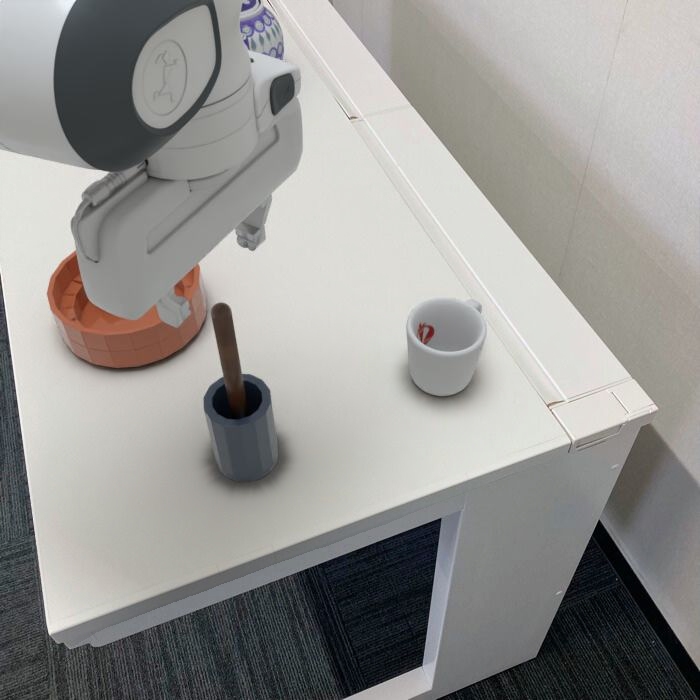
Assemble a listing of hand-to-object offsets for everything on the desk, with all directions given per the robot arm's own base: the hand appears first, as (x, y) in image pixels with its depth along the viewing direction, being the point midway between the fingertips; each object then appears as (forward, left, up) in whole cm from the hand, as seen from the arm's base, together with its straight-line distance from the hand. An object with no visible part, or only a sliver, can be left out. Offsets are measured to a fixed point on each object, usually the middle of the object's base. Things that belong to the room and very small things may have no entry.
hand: (215, 279), depth 58 cm
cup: (+20, -12, -24) cm, 33 cm away
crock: (0, 0, -24) cm, 24 cm away
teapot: (+58, +43, -24) cm, 76 cm away
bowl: (+9, +22, -24) cm, 33 cm away
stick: (0, 0, -23) cm, 23 cm away
